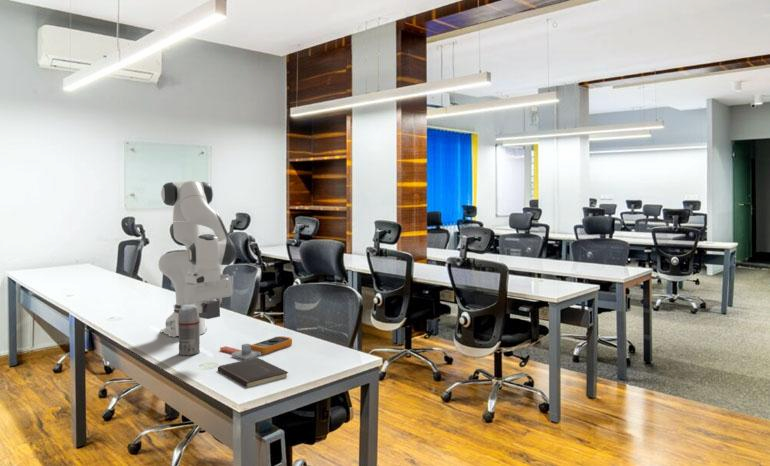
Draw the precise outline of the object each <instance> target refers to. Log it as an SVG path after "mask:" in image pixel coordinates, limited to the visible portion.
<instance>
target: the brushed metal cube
mask: <svg viewBox="0 0 770 466" xmlns="http://www.w3.org/2000/svg"><path fill="white" fill-rule="evenodd" d="M201 306H202V308H204V313H199V317H200V318H204V319H205V320H211V319H215V318H218V317H219V318H220V317H221V309H220V308H221V304H220V301H217V300H215V299H213V300H207V301H202V304H201Z"/></svg>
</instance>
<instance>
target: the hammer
mask: <svg viewBox="0 0 770 466" xmlns="http://www.w3.org/2000/svg"><path fill="white" fill-rule="evenodd" d="M251 345H252V344H250V343H244V344H241V349H238V348H234V347H231V346H221V347H220V348H219V350H220V351H221V352H223V353H228V354H231V357H232V358H235V359H239V360H241V361H244V360H249V359H253V358H258V357H260V356H262V354H261V352H259V351H255V350H251Z"/></svg>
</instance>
